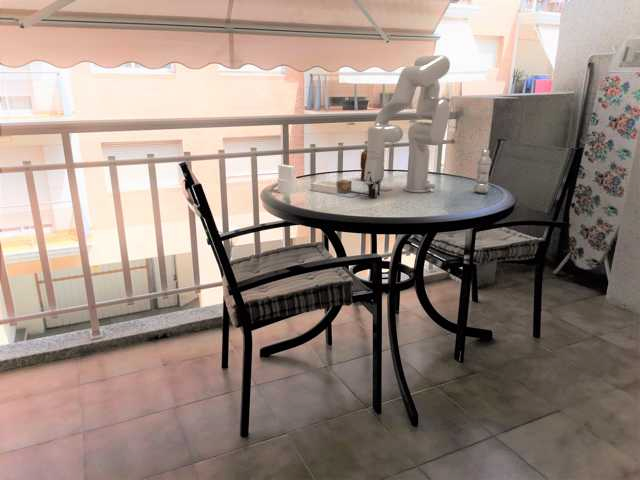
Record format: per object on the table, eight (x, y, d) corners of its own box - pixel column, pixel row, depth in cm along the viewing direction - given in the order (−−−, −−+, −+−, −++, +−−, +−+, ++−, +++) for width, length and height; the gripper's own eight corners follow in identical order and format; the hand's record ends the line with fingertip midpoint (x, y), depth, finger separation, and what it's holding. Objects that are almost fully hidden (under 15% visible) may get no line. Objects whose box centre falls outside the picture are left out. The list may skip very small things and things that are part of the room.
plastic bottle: (488, 192, 224) (493, 149, 217) (486, 195, 218) (492, 151, 212) (474, 190, 226) (479, 148, 220) (472, 193, 220) (477, 150, 214)
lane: (347, 190, 225) (347, 183, 224) (335, 194, 217) (336, 186, 216) (322, 186, 232) (323, 179, 231) (311, 190, 224) (311, 183, 223)
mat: (364, 192, 221) (364, 192, 221) (351, 197, 211) (351, 196, 211) (349, 190, 225) (349, 189, 225) (335, 195, 216) (335, 194, 216)
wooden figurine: (380, 178, 253) (381, 144, 247) (383, 181, 247) (385, 146, 241) (358, 179, 251) (359, 145, 245) (362, 181, 245) (363, 146, 239)
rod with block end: (379, 195, 213) (380, 183, 211) (374, 197, 209) (374, 185, 207) (342, 190, 223) (342, 178, 222) (336, 192, 219) (336, 180, 218)
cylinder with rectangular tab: (300, 191, 223) (300, 165, 219) (286, 194, 217) (286, 168, 213) (287, 188, 229) (287, 163, 225) (273, 191, 222) (273, 165, 219)
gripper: (377, 152, 214) (375, 192, 220) (358, 156, 201) (357, 198, 207) (392, 153, 210) (389, 194, 216) (374, 158, 197) (372, 201, 203)
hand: (373, 195), depth 212 cm, fingers closed on rod with block end, 3 cm apart
